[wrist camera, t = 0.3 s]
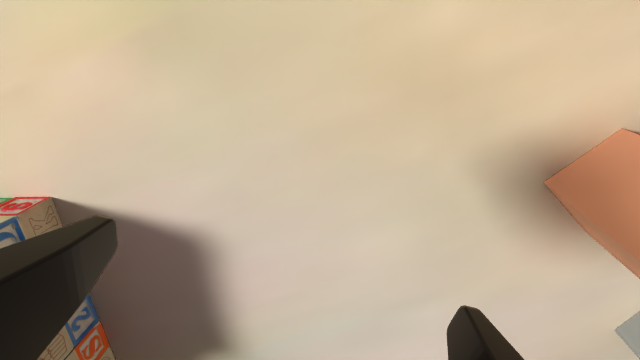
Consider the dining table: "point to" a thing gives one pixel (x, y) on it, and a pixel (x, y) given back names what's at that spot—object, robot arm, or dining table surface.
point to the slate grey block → (631, 333)
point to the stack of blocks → (83, 327)
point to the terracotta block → (606, 195)
